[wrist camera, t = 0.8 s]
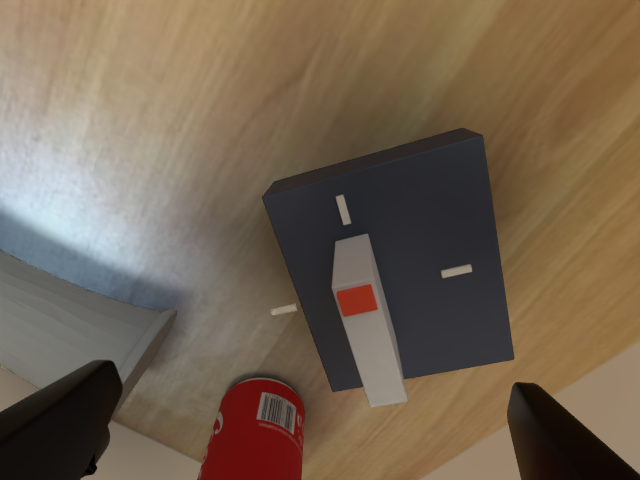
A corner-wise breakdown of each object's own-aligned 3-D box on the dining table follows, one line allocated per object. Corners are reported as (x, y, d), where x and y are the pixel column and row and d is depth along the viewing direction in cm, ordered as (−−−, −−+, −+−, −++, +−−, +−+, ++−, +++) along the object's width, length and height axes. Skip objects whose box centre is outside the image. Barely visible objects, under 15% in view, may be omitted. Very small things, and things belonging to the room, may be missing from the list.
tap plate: (494, 326, 23) (516, 362, 20) (310, 362, 25) (305, 399, 22) (463, 127, 19) (484, 135, 16) (245, 189, 21) (228, 206, 18)
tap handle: (395, 336, 20) (409, 407, 15) (365, 342, 20) (370, 413, 16) (367, 232, 18) (374, 280, 13) (335, 241, 18) (330, 290, 14)
